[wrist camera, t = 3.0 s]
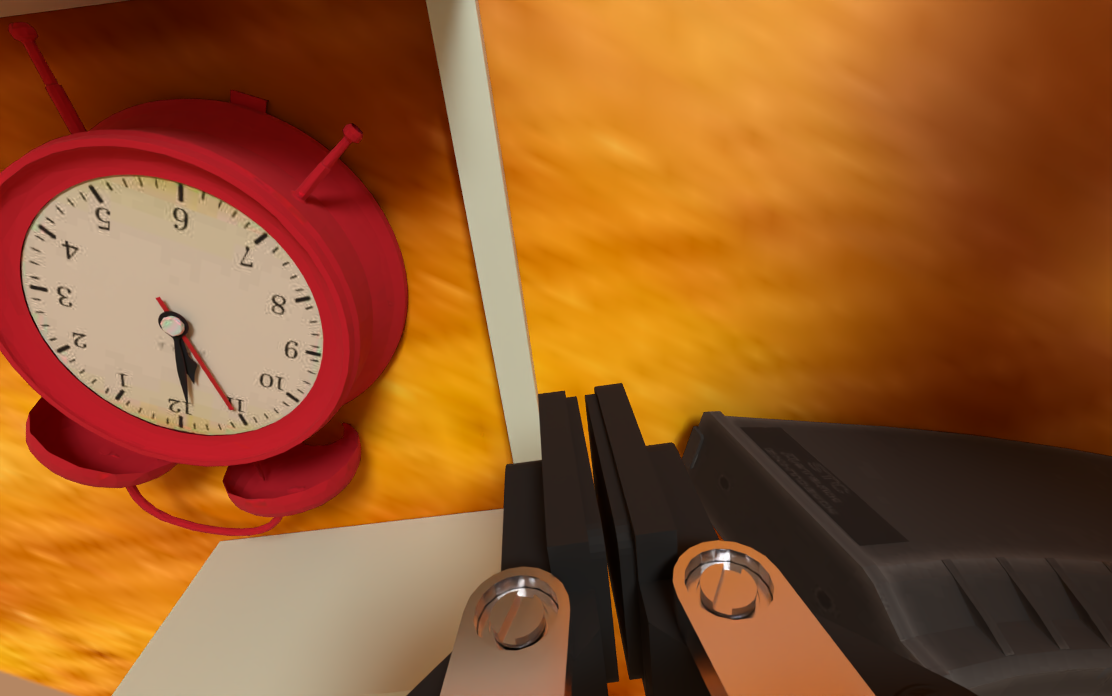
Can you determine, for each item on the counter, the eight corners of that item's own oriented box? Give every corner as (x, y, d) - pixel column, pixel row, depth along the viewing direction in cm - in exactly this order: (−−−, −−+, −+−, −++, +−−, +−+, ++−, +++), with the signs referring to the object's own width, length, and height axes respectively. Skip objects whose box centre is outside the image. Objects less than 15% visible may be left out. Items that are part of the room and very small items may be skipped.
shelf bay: (-95, -30, 13) (-692, -149, 7) (461, -105, 13) (391, -303, 6) (231, 561, 22) (111, 747, 16) (557, 524, 22) (567, 697, 16)
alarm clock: (419, 128, 12) (306, 666, 15) (446, 160, 18) (363, 537, 21) (-112, -34, 10) (-117, 609, 13) (117, 61, 16) (78, 487, 19)
